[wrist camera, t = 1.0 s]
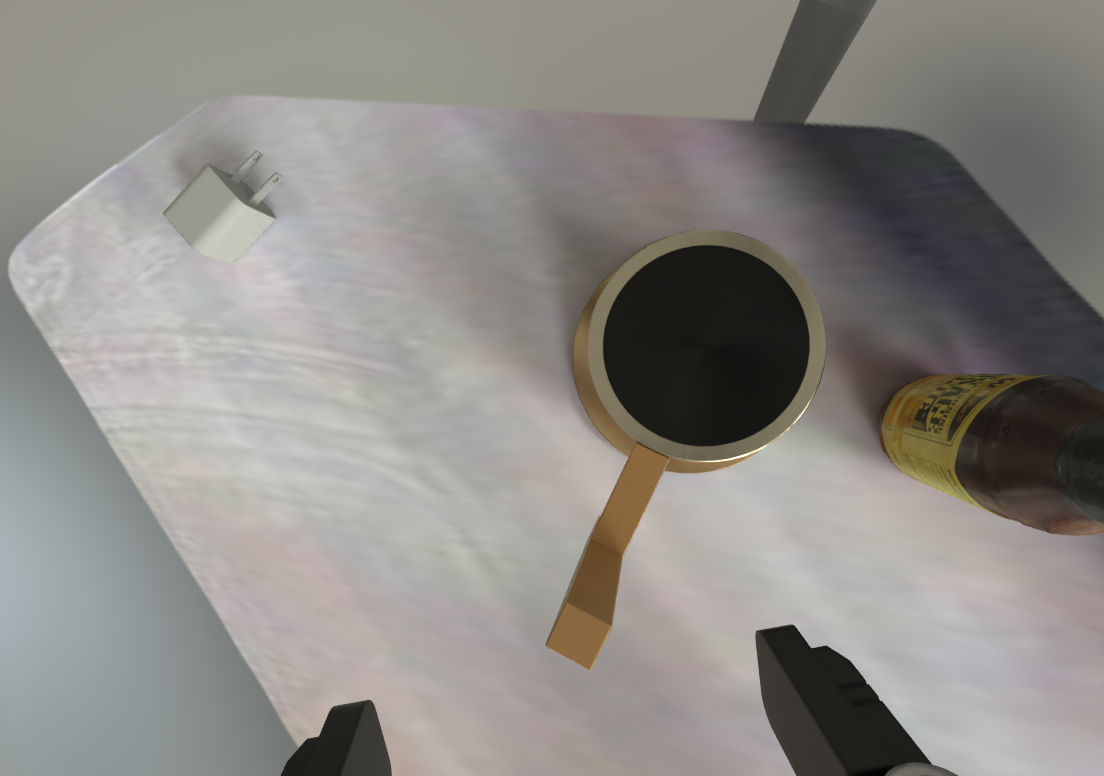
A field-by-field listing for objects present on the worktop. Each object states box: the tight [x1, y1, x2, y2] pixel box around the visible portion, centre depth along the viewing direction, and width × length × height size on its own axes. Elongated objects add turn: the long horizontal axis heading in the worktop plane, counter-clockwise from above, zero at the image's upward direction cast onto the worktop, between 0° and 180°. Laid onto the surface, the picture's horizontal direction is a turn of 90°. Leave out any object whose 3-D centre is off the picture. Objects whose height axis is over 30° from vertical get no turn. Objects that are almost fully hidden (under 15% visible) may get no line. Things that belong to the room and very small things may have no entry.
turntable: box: [573, 264, 765, 473], centre depth 38 cm, size 14×14×1 cm
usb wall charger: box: [163, 151, 282, 264], centre depth 41 cm, size 4×7×4 cm, turn 133°
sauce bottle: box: [879, 374, 1104, 536], centre depth 26 cm, size 7×6×20 cm
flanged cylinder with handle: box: [546, 230, 826, 670], centre depth 28 cm, size 16×10×19 cm, turn 155°
